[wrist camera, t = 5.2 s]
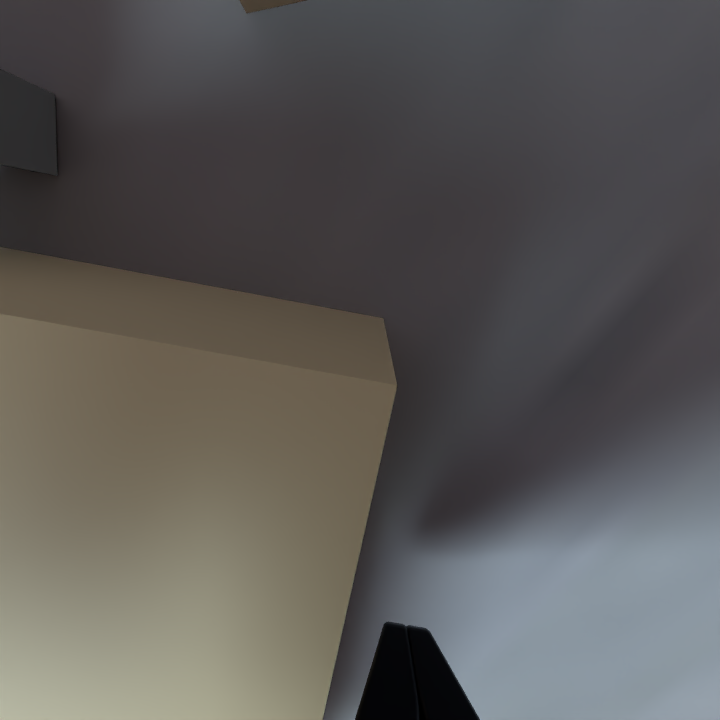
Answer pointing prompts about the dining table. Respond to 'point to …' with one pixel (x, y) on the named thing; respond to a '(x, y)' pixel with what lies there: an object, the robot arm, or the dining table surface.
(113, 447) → the carton
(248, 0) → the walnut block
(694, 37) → the dining table surface
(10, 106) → the frame
